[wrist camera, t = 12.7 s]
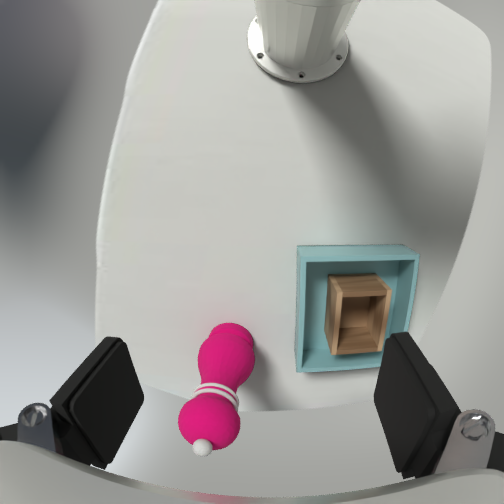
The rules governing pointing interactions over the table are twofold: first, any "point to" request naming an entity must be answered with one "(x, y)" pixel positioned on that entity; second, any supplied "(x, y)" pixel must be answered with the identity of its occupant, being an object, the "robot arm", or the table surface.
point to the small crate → (356, 313)
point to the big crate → (315, 292)
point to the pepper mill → (218, 389)
